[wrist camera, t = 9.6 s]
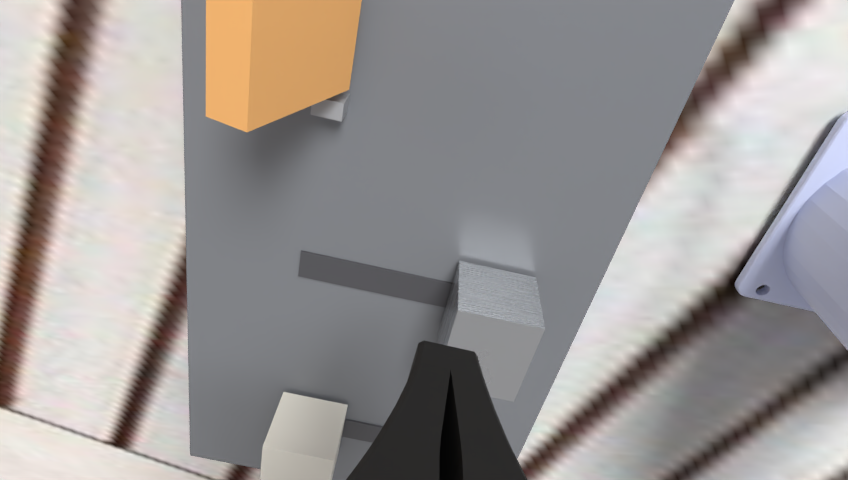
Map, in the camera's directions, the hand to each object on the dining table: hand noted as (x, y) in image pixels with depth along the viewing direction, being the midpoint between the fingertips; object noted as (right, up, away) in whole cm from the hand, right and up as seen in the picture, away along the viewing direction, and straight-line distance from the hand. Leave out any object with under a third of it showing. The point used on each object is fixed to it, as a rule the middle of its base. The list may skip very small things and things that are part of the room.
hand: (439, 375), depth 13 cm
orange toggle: (-3, +9, +3) cm, 10 cm away
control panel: (-2, +3, +10) cm, 11 cm away
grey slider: (+2, +1, +9) cm, 9 cm away
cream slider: (-6, -5, +13) cm, 15 cm away
